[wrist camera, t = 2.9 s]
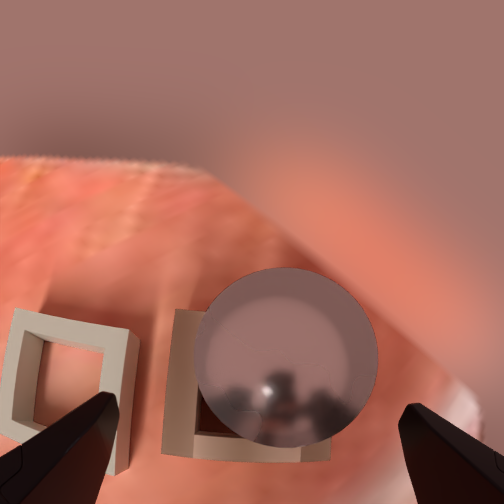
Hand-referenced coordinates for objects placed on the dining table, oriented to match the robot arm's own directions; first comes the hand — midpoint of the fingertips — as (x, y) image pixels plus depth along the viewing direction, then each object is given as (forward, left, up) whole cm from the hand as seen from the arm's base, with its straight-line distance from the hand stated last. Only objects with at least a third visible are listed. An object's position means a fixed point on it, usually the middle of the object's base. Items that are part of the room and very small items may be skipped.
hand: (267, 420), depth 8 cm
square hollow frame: (+7, +8, -9) cm, 14 cm away
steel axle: (+1, -1, -9) cm, 9 cm away
